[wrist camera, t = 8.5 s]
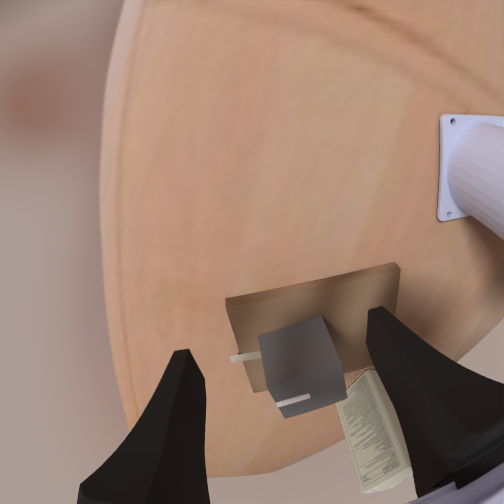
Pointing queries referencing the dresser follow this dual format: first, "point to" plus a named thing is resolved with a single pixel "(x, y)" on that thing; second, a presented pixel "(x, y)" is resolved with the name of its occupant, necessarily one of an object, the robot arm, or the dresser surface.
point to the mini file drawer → (302, 367)
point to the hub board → (314, 315)
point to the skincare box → (374, 435)
